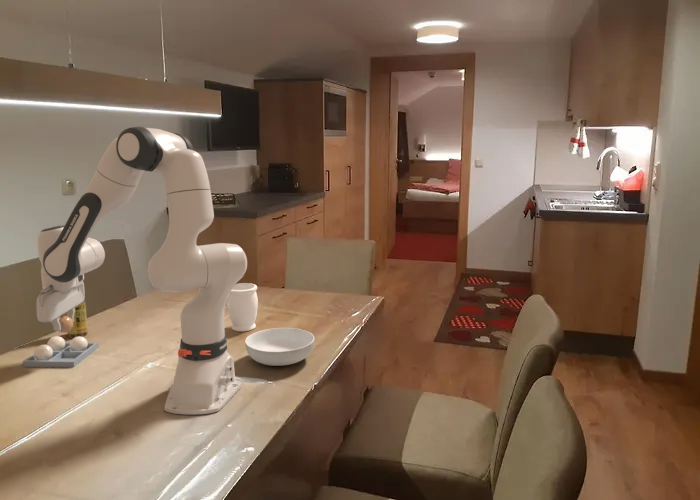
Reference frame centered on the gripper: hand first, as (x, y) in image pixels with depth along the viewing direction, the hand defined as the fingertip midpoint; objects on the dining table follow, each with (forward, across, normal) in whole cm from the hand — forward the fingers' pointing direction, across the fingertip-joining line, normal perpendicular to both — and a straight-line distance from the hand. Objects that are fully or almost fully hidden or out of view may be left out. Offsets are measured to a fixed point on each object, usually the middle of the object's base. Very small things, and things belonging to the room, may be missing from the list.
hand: (64, 326), depth 168 cm
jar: (+12, +32, -46) cm, 57 cm away
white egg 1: (+11, 0, +7) cm, 13 cm away
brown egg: (+2, 0, 0) cm, 2 cm away
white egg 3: (+11, +7, 0) cm, 13 cm away
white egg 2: (+11, +7, +7) cm, 15 cm away
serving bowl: (+12, +4, -63) cm, 64 cm away
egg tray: (+12, +3, +3) cm, 12 cm away
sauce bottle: (+12, +22, +8) cm, 26 cm away
